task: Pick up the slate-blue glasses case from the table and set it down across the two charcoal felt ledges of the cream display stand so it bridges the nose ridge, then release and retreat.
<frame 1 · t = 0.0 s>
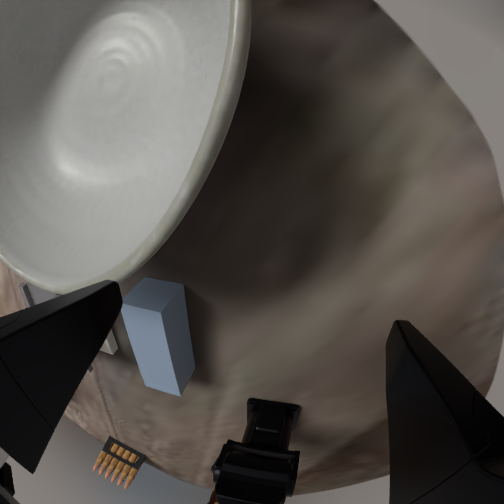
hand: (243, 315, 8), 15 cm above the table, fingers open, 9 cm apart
ammunition clip: (127, 446, 56), on the table
glasses case: (171, 325, 31), on the table
decorative bowl: (129, 82, 20), on the table
display stand: (81, 303, 33), on the table
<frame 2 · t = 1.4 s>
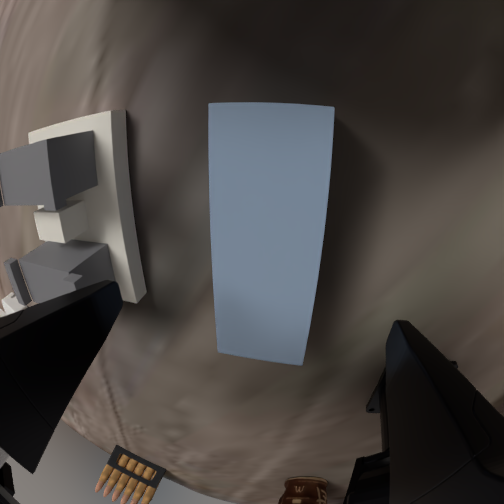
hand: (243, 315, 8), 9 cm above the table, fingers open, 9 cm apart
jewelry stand: (6, 309, 31), on the table
ammunition clip: (141, 457, 42), on the table
glasses case: (280, 217, 16), on the table
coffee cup: (306, 481, 32), on the table
display stand: (86, 207, 19), on the table
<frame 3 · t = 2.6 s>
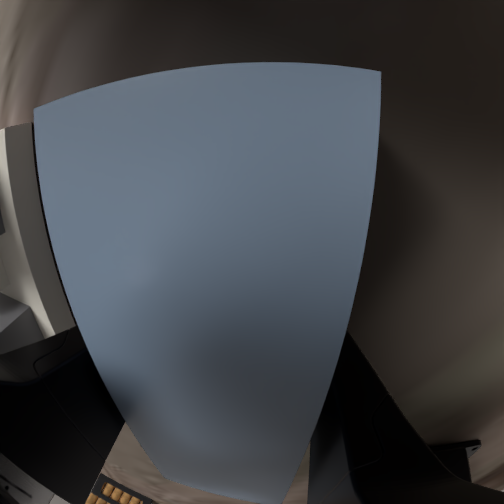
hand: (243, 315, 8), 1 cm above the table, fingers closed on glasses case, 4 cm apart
ammunition clip: (126, 486, 35), on the table
glasses case: (252, 295, 9), on the table, touching gripper
display stand: (11, 251, 12), on the table
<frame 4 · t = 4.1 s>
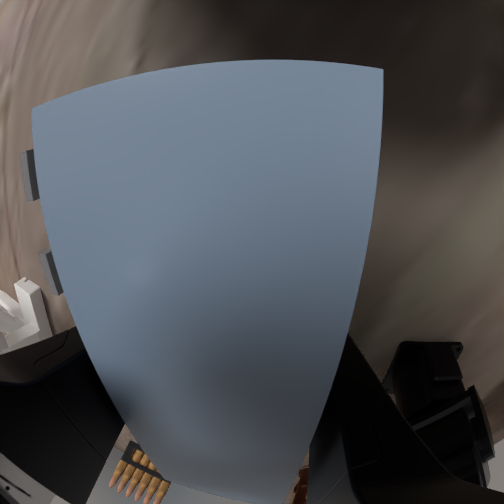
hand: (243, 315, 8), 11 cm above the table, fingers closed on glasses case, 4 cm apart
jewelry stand: (19, 299, 33), on the table
ammunition clip: (154, 452, 44), on the table
glasses case: (252, 296, 9), point 10 cm above the table, touching gripper
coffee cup: (319, 470, 34), on the table
display stand: (121, 201, 21), on the table
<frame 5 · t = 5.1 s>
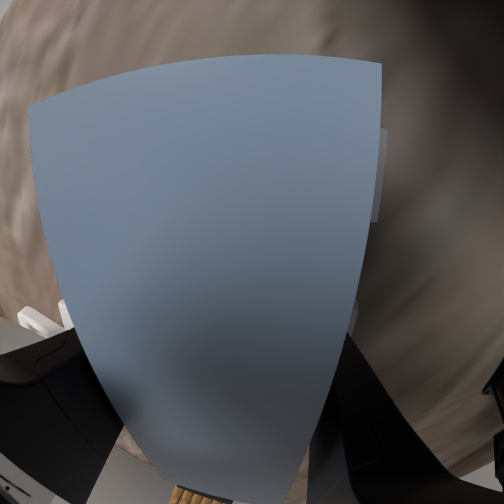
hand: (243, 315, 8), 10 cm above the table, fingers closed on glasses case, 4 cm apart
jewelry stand: (57, 318, 29), on the table
ammunition clip: (211, 474, 41), on the table
glasses case: (251, 295, 9), point 9 cm above the table, touching gripper
display stand: (282, 211, 17), on the table
when the fingers open (7 cm above the table, at t = 5.8 s): glasses case stays where it is, resting on display stand.
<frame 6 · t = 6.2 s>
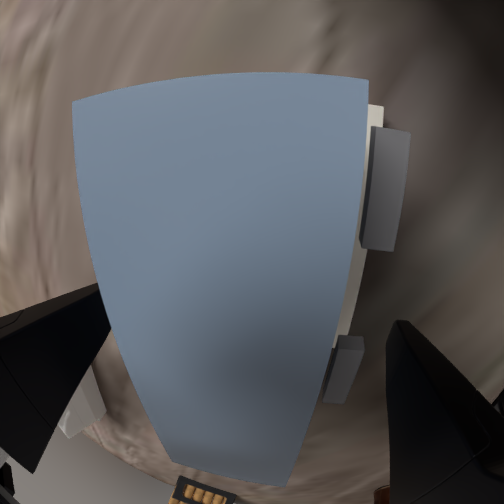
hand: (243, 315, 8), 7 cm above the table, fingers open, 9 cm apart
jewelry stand: (43, 326, 27), on the table
ammunition clip: (207, 485, 38), on the table
glasses case: (257, 280, 10), point 5 cm above the table, touching display stand
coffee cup: (393, 487, 28), on the table
display stand: (278, 226, 15), on the table
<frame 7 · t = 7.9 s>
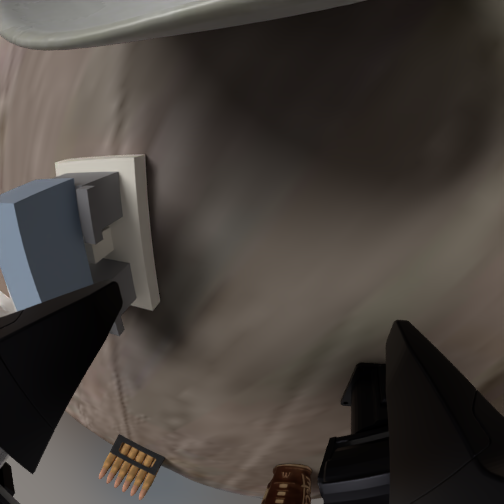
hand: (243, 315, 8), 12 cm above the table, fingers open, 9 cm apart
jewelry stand: (11, 294, 34), on the table
ammunition clip: (141, 446, 47), on the table
glasses case: (68, 257, 18), point 5 cm above the table, touching display stand
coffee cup: (292, 469, 37), on the table
display stand: (109, 229, 23), on the table
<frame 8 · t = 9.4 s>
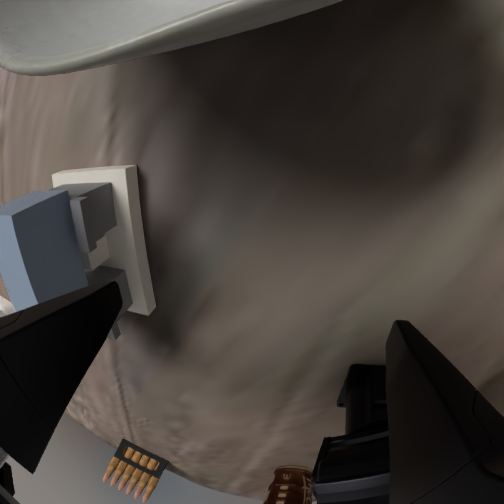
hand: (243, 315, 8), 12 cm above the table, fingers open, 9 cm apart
ammunition clip: (145, 450, 47), on the table
glasses case: (65, 265, 19), point 5 cm above the table, touching display stand
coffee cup: (294, 470, 37), on the table
display stand: (105, 238, 24), on the table
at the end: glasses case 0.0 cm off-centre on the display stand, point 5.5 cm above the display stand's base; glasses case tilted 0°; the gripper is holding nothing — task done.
